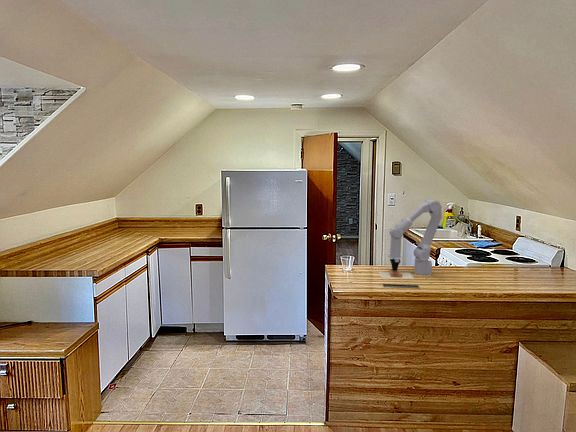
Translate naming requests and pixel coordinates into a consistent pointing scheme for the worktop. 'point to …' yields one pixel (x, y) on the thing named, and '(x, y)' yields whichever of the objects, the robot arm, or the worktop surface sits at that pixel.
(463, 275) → the worktop surface
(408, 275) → the board
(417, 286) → the mat
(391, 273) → the block
